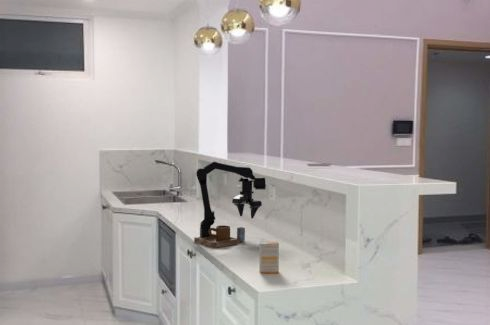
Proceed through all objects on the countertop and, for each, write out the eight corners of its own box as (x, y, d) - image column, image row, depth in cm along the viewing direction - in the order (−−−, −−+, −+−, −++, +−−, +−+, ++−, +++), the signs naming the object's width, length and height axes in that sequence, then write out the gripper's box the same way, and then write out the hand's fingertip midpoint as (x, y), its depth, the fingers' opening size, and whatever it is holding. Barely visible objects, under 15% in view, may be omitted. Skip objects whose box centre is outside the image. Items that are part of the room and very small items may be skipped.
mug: (210, 246, 292) (210, 228, 292) (206, 243, 299) (206, 226, 299) (232, 245, 296) (232, 227, 296) (227, 242, 303) (227, 225, 303)
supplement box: (277, 270, 246) (278, 241, 246) (278, 273, 242) (279, 243, 241) (258, 270, 246) (259, 241, 245) (259, 273, 241) (260, 243, 240)
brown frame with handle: (194, 241, 302) (194, 228, 301) (227, 236, 317) (227, 224, 317) (215, 247, 288) (215, 234, 288) (249, 241, 304) (249, 228, 303)
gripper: (225, 189, 313) (224, 216, 314) (247, 192, 299) (247, 221, 300) (240, 187, 320) (239, 214, 321) (262, 190, 306) (262, 219, 307)
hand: (246, 217), depth 312 cm, fingers open, 9 cm apart
